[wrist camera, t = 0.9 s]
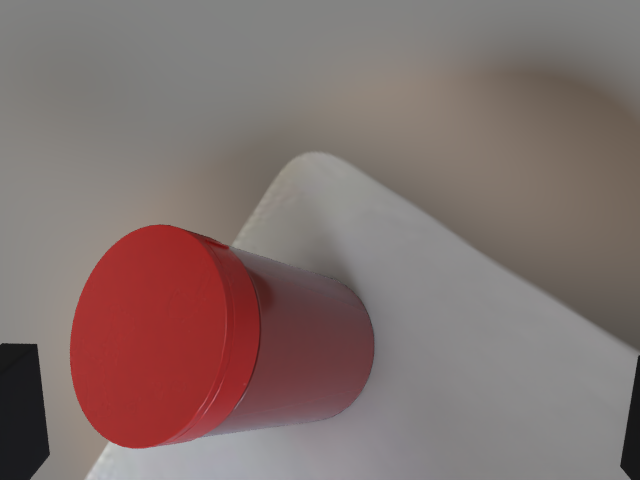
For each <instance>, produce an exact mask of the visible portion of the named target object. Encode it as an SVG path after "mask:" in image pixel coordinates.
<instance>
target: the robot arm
mask: <svg viewBox="0 0 640 480" xmlns="http://www.w3.org/2000/svg"><path fill="white" fill-rule="evenodd" d="M49 455H50V452H49V444H48V435H47V426H46V417H45V409H44V400H43V391H42V383H41V374H40V365H39V356H38V348H37V344H8V343H5V344H4V343H2V344H1V345H0V480H30V479H31V477H32V476H33V475H34V474H35V472H36V471H37V470H38V469H39V467H40V466H41V465H42V464H43V463H44V461H45V460H46V459H47V458H48V456H49ZM620 467H621V468H622V469H623V470H624V472H625V473H626V474H627V475H628V476H629V478H630V479H631V480H640V355H638V361H637V367H636V373H635V379H634V386H633V392H632V398H631V404H630V410H629V416H628V422H627V428H626V434H625V440H624V446H623V452H622V458H621V464H620Z"/></svg>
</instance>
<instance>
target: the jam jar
mask: <svg viewBox="0 0 640 480" xmlns="http://www.w3.org/2000/svg"><path fill="white" fill-rule="evenodd" d="M227 246H228V245H227ZM229 249H230V250H231V251H232V252H233V253H234V254H235V255H236V256H237V258H238V259H239V260H240V262H241V263H242V264H243V266H244V267H245V269H246V271H247V273H248V275H249V277H250V279H251V282H252V285H253V287H254V290H255V294H256V298H257V302H258V310H259V324H260V332H259V345H258V351H257V356H256V361H255V364H254V368H253V371H252V375H251V377H250V379H249V382H248V384H247V387H246V389H245V391H244V392H243V394H242V396H241V398H240V400H239V401H238V403H237V404H236V406H235V407H234V408H233V410H232V411H231V412H230V414H229V415H228V416H227V417H226V418H225V419H224V420H223V421H222V422H221V423H220V424H219V425H217V426H216V427H215V428H214V429H213V430H211V431H210V432H208V433H206V434H205V435H203V436H201V437H208V436H215V435H222V434H229V433H236V432H243V431H250V430H257V429H264V428H271V427H278V426H284V425H291V424H298V423H305V422H312V421H319V420H324V419H327V418H330V417H333V416H335V415H337V414H338V413H340V412H342V411H343V410H344V409H346V408H347V407H348V406H349V405H350V404H351V403H352V402H353V401H354V400H355V399H356V398H357V396H358V395H359V394H360V392H361V391H362V389H363V387H364V386H365V384H366V382H367V379H368V377H369V374H370V371H371V367H372V363H373V357H374V335H373V330H372V325H371V322H370V319H369V316H368V313H367V311H366V309H365V307H364V305H363V304H362V302H361V301H360V299H359V298H358V297H357V296H356V295H355V293H354V292H353V291H352V290H350V289H349V288H348V287H347V286H346V285H344V284H342V283H341V282H339V281H337V280H335V279H333V278H329V277H326V276H323V275H320V274H317V273H314V272H310V271H307V270H304V269H301V268H298V267H294V266H291V265H288V264H285V263H282V262H278V261H275V260H272V259H269V258H266V257H263V256H259V255H256V254H253V253H250V252H247V251H243V250H240V249H237V248H234V247H231V246H229ZM201 437H199V438H201Z"/></svg>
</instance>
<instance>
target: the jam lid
mask: <svg viewBox="0 0 640 480" xmlns="http://www.w3.org/2000/svg"><path fill="white" fill-rule="evenodd" d="M259 332H260V324H259V310H258V302H257V298H256V294H255V290H254V287H253V285H252V282H251V279H250V277H249V275H248V273H247V271H246V269H245V267H244V266H243V264H242V263H241V262H240V260H239V259H238V258H237V256H236V255H235V254H234V253H233V252H232V251H231V250H230V249H229V246H227V245H224V244H222V243H220V242H218V241H216V240H214V239H212V238H209V237H206V236H203V235H200V234H197V233H193V232H190V231H187V230H184V229H181V228H178V227H174V226H170V225H151V226H147V227H143V228H140V229H138V230H135V231H133V232H131V233H129V234H128V235H126V236H124V237H123V238H121V239H120V240H119V241H118V242H117V243H115V244H114V245H113V246H112V247H111V248H110V249H109V250H108V251H107V252H106V253H105V255H104V256H103V257H102V258H101V259H100V261H99V262H98V263H97V265H96V266H95V268H94V269H93V271H92V273H91V274H90V276H89V278H88V280H87V282H86V284H85V286H84V289H83V291H82V293H81V296H80V299H79V302H78V305H77V308H76V312H75V316H74V320H73V325H72V332H71V342H70V365H71V375H72V380H73V385H74V389H75V392H76V395H77V399H78V401H79V404H80V406H81V408H82V411H83V412H84V414H85V416H86V417H87V419H88V421H89V422H90V423H91V425H92V426H93V427H94V428H95V429H96V430H97V431H98V432H99V433H100V434H101V435H102V436H103V437H105V438H106V439H108V440H109V441H111V442H112V443H115V444H117V445H120V446H122V447H127V448H132V449H133V448H149V447H156V446H163V445H170V444H176V443H182V442H187V441H191V440H194V439H196V438H199V437H201V436H203V435H205V434H206V433H208V432H210V431H211V430H213V429H214V428H215V427H216V426H217V425H219V424H220V423H221V422H222V421H223V420H224V419H225V418H226V417H227V416H228V415H229V414H230V412H231V411H232V410H233V408H234V407H235V406H236V404H237V403H238V401H239V400H240V398H241V396H242V394H243V392H244V391H245V389H246V387H247V384H248V382H249V379H250V377H251V375H252V371H253V368H254V364H255V361H256V356H257V351H258V345H259Z"/></svg>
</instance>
